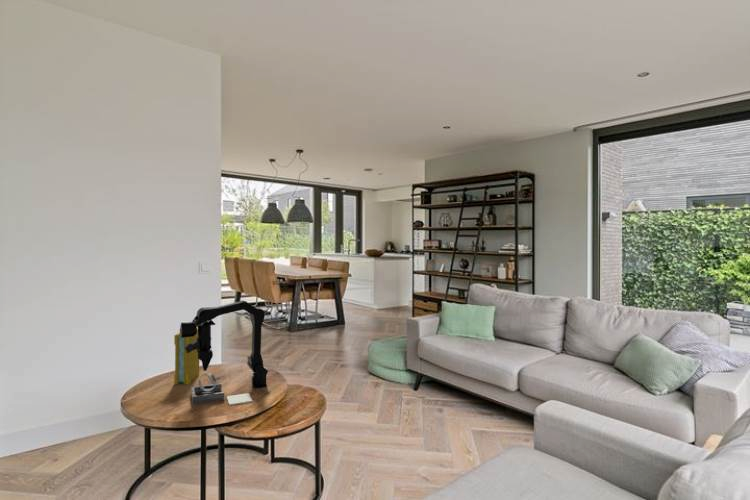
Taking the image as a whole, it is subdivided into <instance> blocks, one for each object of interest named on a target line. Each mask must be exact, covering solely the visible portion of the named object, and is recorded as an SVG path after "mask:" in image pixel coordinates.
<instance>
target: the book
mask: <svg viewBox="0 0 750 500" xmlns="http://www.w3.org/2000/svg"><path fill="white" fill-rule="evenodd" d="M197 337H198V327H197V334H196V335H194V336H193V337H184V338H181V337H180V332H179V333H176V334H174V343H173V344H174V345H175V346H174V347H175V349H174V351H175V355H174V357H175V358H174V362H175V363H174V367H175V368H174V370H175V371H174V375H173V378H174V379H173V384H174V385H179V384H180V383H183V385H189V384H190V383H192V381H193V380H194V379H195V378H197V377H198V376H199V375H200V360H199V359H198V352H197V349H195V350H193V351H191V352H190V353H187V352H186V350H185V347H184V345H186V344H188V343H190V342H193V341H196V340H197Z"/></svg>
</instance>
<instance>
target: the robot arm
mask: <svg viewBox="0 0 750 500" xmlns="http://www.w3.org/2000/svg"><path fill="white" fill-rule="evenodd" d="M241 310H244V311H245V312H247V313H249V317H250V323H251V325H252V328H251V331H252V332H251V354H250V356H247V363H246V364H247V366H248V368H249V369H250V370H251V372H253V373H252V376H251V386H252V387H253V388H254V389H256V388H263V387H268V384H267V375H268V372H269V370H268V369H267V368H265V367H264V360H263V357H262V326H263V323H264V321H265V315H266V313H265V311H264V309H263V308H259V307H258V306H253V304H252V305H251V303H248V302H247V301H246V300H240V301H237V302H232V303H228V304H224V305H220V306H213V307H211V306H209V307H200V308H199V309H198V310H197V312H196V315H195V317H194V318H193V319H192V320H191V321H190V322H189V321H188V322H180V326H179V333H180V337H181V338H184V337H193V336H194V335H196V334H197V328H198V337H197V340H196V341H193V342H190V343H188V344H186V345H184V347H185V350H186V352H187V353H190V352H191V351H193V350H195V349H197V352H198V359H199V361H201V365H202V369H203V371H204V372H206V371H207V370H208V367H209V366H210V362H211V361H212V359H213V357H214V356H213V355H214V353H213V350H212V326H215V325H216V323H215V322H214V321H213V320H214V319H215V318H217V317H219V316H221V315H226V314H230V313H235V312H238V311H241Z"/></svg>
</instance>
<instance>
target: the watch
mask: <svg viewBox="0 0 750 500" xmlns="http://www.w3.org/2000/svg"><path fill="white" fill-rule="evenodd" d="M206 376H207V377H208V378H209V382H210V383H211V384H213V385H214V387H215V386H216V384H218V381H217V377H216V376H215V375H214V374H213V373H207V372H206V373H204V374H202V375H201V376H200V377H199V378H198V383H197V385H198V386H199V387H200V389H201V390H203V391H202V393H201V394H200V395H205V394H212V393H214V392H213V389H214V387H213V388H211V389H204V387H203V386H204V385H203V384H202V382H201V379H202V378H203V377H206Z"/></svg>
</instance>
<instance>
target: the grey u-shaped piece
mask: <svg viewBox="0 0 750 500" xmlns="http://www.w3.org/2000/svg"><path fill="white" fill-rule="evenodd" d="M202 386H203V387H204V389H211V388H213V387H214V385H213V384H212V383H211V384H205V385H202ZM190 388H191V389H190V393H191V394H190V395H191V405H192V406H196V405H200V404H208V403H214V402H221V400H222V401H225V391H222V383H221V382H220V383H216V386H215V387H214V389H213V393H212V394H205V395H201V393H202V391H203V390H201V389H200V387H199V385H198V386H191V387H190Z"/></svg>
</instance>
